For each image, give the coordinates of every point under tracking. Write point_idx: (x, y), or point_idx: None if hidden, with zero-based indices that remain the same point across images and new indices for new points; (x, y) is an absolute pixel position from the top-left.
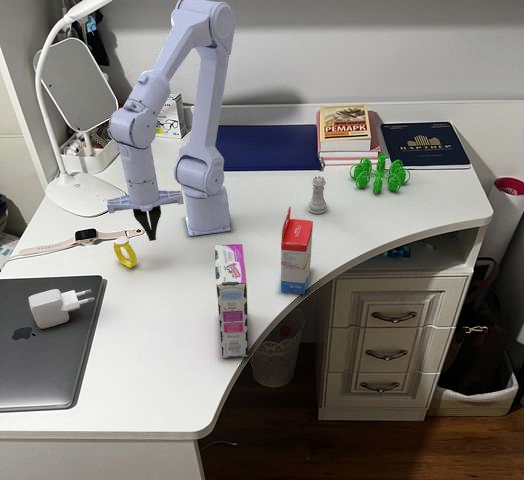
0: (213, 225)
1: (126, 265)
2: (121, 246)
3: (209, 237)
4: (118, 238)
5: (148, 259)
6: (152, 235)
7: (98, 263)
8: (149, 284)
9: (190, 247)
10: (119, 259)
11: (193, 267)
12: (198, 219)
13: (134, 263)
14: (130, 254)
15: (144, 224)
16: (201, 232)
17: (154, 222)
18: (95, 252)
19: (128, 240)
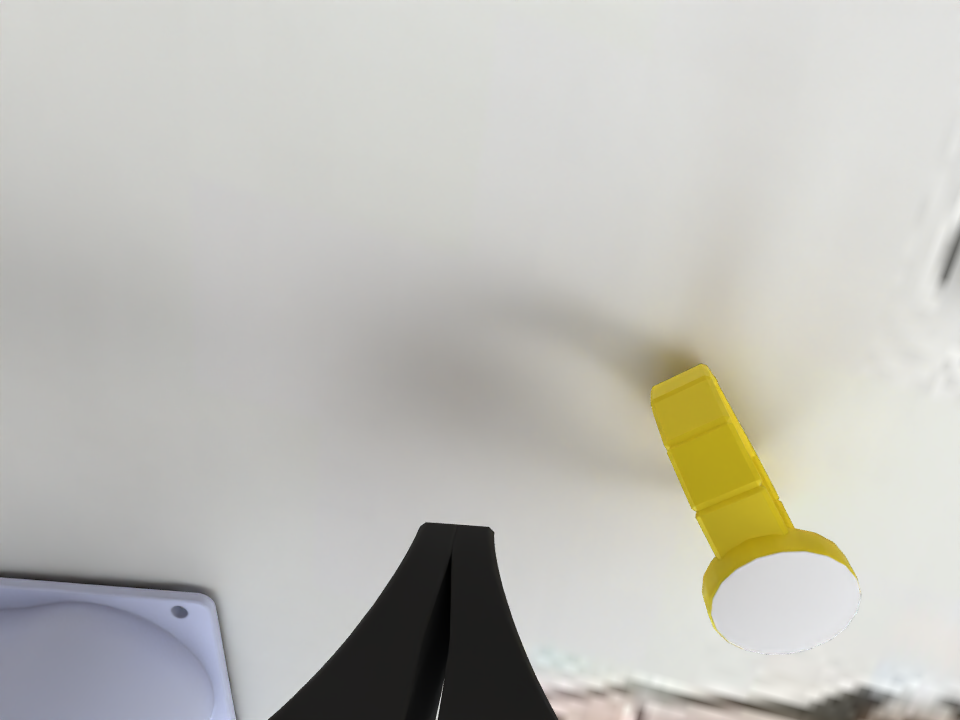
0: (10, 633)
1: (730, 410)
2: (803, 532)
3: (73, 548)
4: (802, 645)
5: (539, 442)
6: (441, 564)
7: (926, 505)
8: (590, 102)
9: (208, 485)
10: (770, 487)
11: (179, 237)
12: (74, 701)
13: (675, 378)
14: (716, 432)
15: (502, 710)
16: (119, 602)
17: (342, 707)
18: (900, 621)
19: (712, 589)
